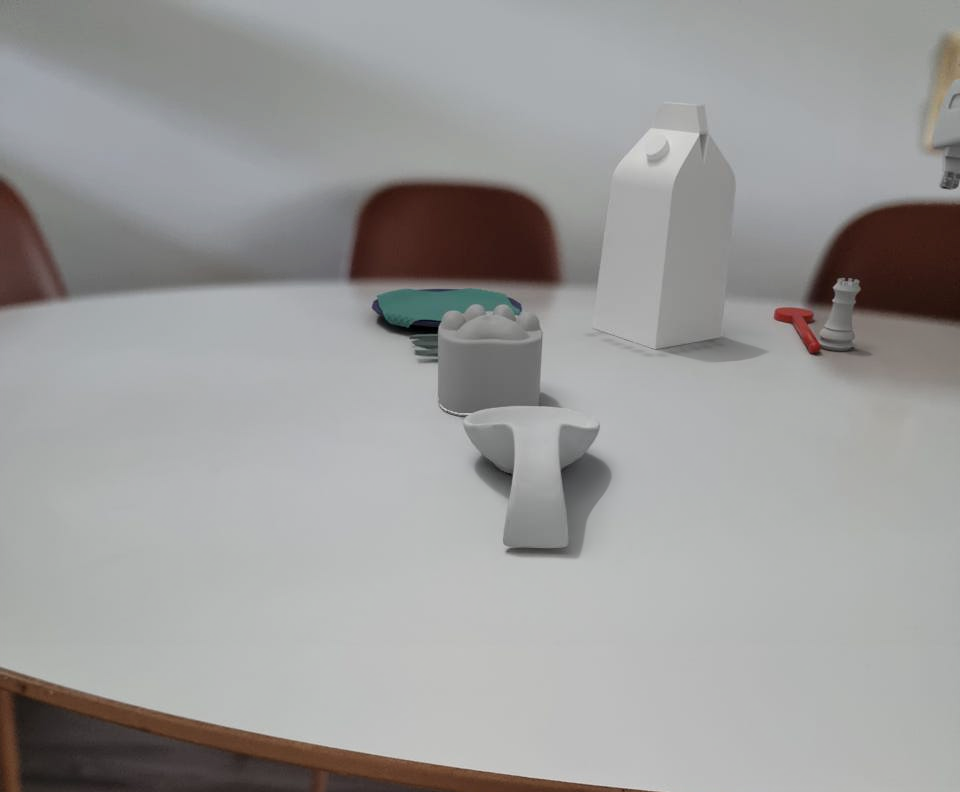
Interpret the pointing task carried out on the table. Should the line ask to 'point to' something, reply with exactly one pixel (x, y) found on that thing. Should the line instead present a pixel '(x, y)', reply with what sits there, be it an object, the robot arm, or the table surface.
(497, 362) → the lumpy-topped squat cylinder
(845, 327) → the rook chess piece
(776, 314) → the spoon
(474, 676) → the table surface
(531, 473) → the spoon rest
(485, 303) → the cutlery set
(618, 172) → the milk
